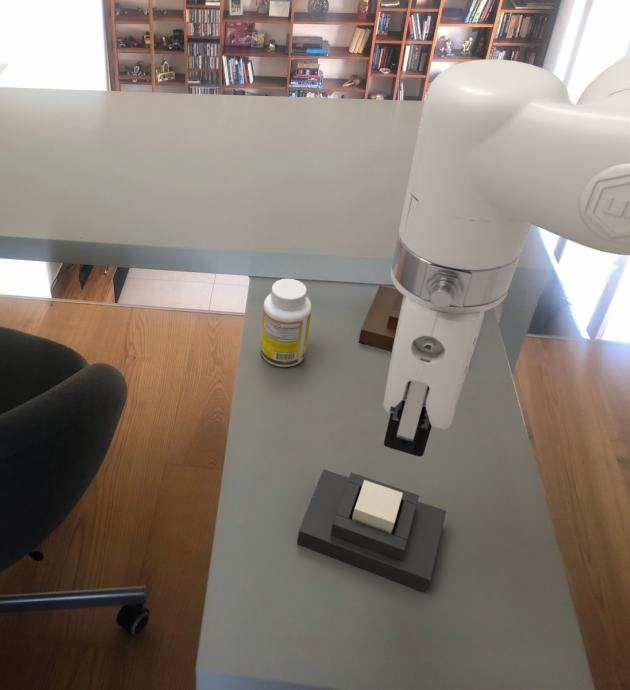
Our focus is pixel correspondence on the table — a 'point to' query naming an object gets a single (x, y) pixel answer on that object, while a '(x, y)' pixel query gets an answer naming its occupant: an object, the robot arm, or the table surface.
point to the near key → (377, 506)
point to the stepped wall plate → (373, 532)
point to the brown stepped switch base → (382, 319)
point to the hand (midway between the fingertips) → (404, 444)
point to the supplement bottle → (285, 323)
